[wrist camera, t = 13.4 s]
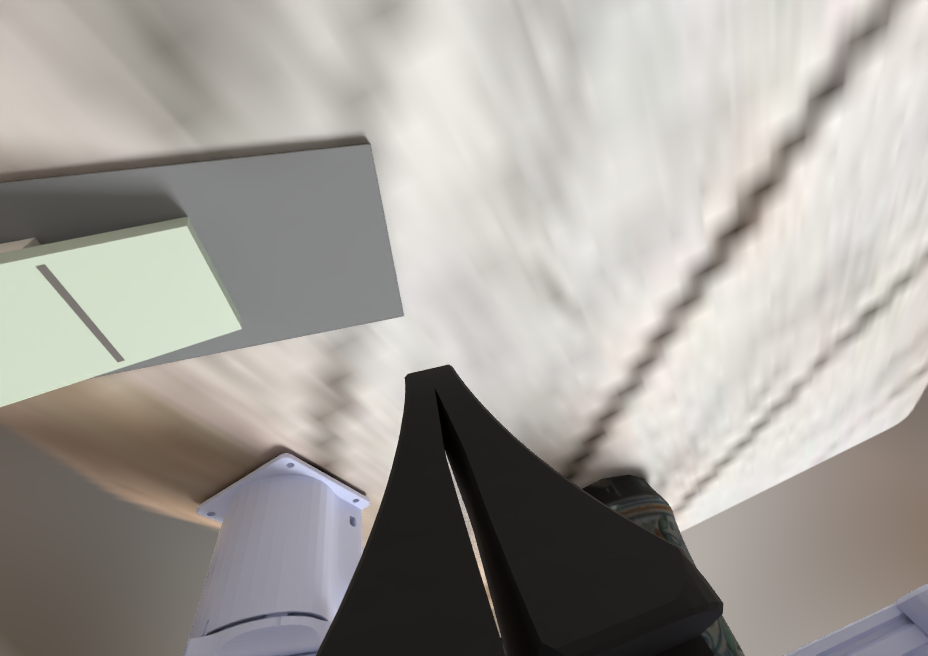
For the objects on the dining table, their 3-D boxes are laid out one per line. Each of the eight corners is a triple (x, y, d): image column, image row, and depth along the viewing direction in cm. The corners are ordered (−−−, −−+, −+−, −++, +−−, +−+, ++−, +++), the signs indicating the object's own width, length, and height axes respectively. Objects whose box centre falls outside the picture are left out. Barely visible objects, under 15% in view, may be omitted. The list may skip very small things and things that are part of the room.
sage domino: (186, 226, 14) (-175, 300, 10) (242, 329, 17) (-23, 415, 13) (187, 216, 15) (-136, 279, 11) (239, 314, 18) (-5, 389, 14)
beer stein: (663, 456, 41) (963, 806, 21) (635, 531, 52) (812, 803, 32) (532, 502, 38) (730, 946, 18) (533, 570, 50) (656, 889, 30)
